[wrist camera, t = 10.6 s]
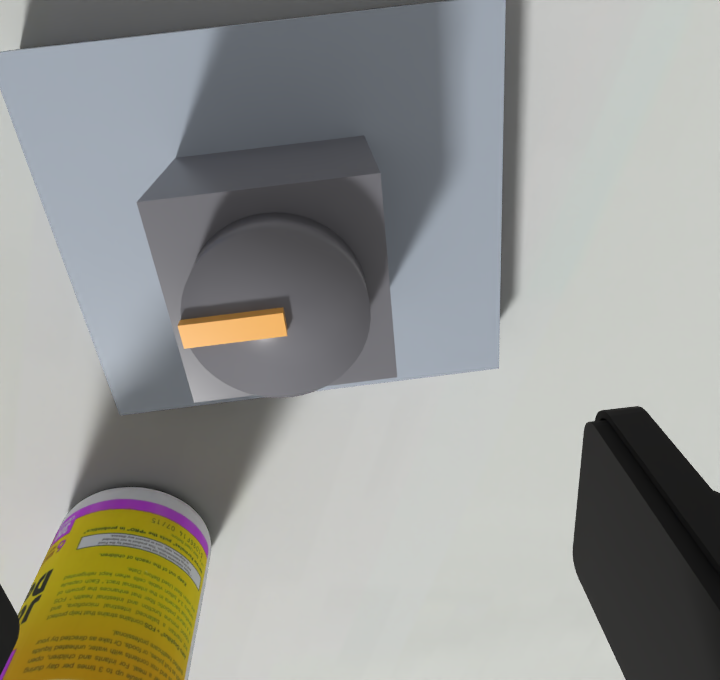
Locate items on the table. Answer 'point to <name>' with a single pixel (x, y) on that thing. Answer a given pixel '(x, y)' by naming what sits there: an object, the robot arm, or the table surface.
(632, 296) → the table surface
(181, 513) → the supplement bottle
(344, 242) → the knob
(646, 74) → the table surface
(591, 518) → the robot arm
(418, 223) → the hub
